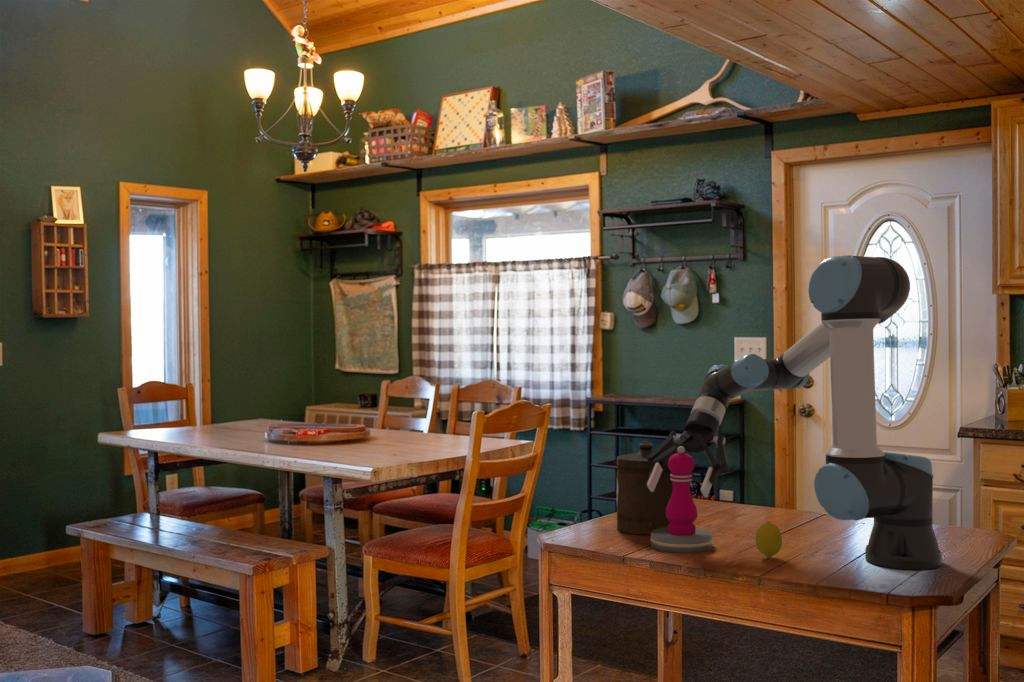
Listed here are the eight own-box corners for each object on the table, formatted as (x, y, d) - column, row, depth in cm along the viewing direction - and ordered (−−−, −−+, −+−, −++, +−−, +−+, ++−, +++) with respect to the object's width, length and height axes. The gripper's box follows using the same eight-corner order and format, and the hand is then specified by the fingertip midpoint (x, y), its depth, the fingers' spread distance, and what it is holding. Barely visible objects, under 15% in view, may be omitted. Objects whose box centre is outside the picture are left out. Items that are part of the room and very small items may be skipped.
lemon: (781, 556, 215) (781, 519, 215) (781, 561, 210) (781, 524, 209) (756, 554, 216) (755, 518, 216) (755, 560, 211) (755, 523, 211)
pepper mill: (696, 529, 229) (695, 444, 229) (699, 536, 222) (698, 448, 222) (665, 529, 230) (664, 444, 229) (666, 536, 222) (666, 448, 222)
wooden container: (643, 521, 256) (643, 436, 255) (688, 529, 244) (688, 441, 244) (604, 529, 246) (603, 441, 246) (649, 538, 235) (649, 446, 234)
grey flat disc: (724, 549, 222) (724, 536, 222) (670, 555, 217) (670, 541, 217) (691, 537, 235) (691, 524, 235) (639, 542, 230) (639, 529, 230)
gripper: (758, 433, 230) (732, 506, 218) (663, 427, 245) (634, 495, 233) (749, 412, 226) (722, 485, 214) (653, 407, 241) (622, 476, 229)
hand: (676, 491), depth 224 cm, fingers open, 13 cm apart
